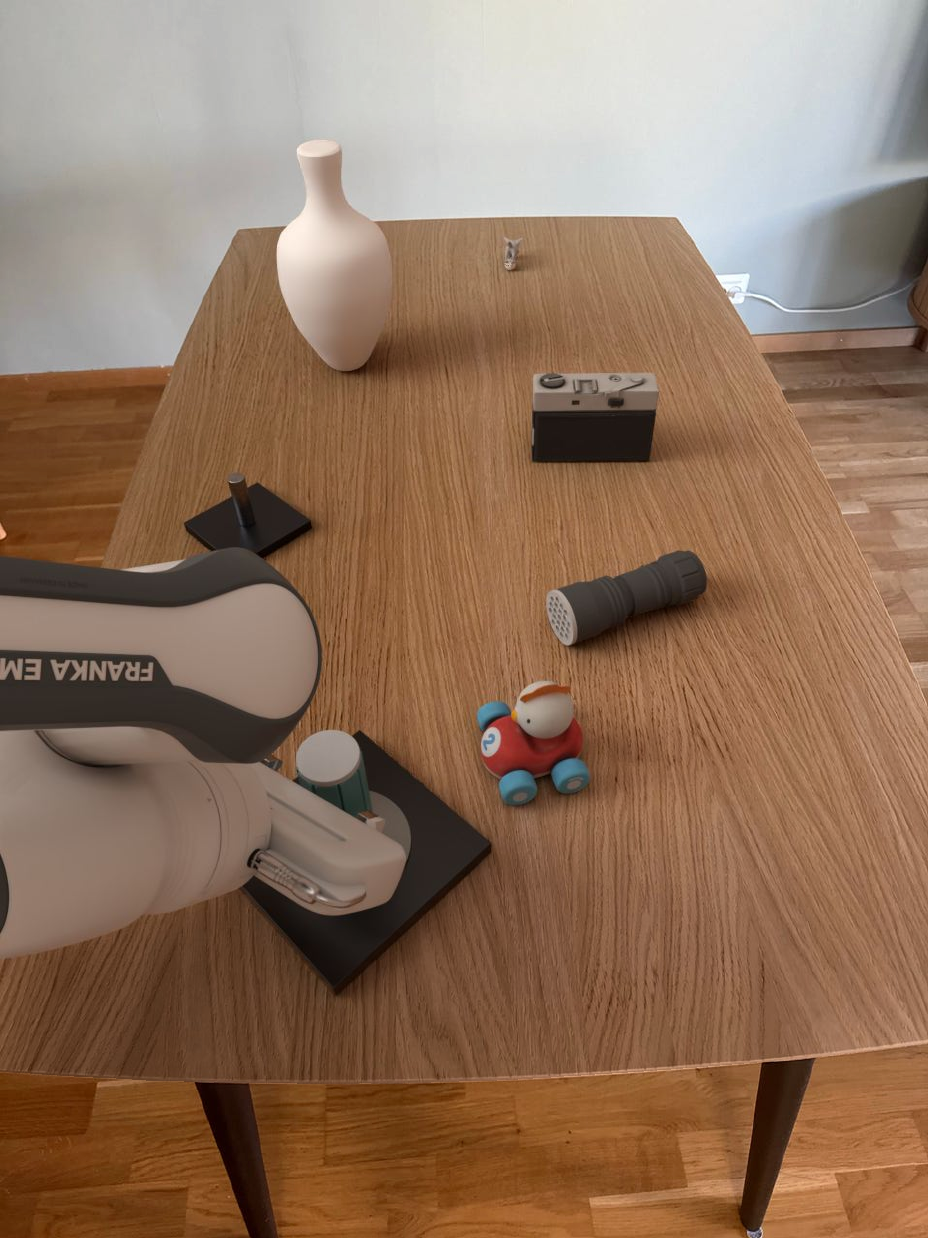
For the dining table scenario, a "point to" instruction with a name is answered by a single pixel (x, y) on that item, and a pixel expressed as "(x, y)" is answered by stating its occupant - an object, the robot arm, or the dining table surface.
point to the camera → (593, 416)
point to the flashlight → (624, 596)
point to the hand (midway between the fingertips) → (322, 794)
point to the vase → (334, 265)
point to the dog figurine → (511, 252)
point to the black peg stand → (248, 520)
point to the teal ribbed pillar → (334, 770)
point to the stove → (432, 869)
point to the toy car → (533, 742)
